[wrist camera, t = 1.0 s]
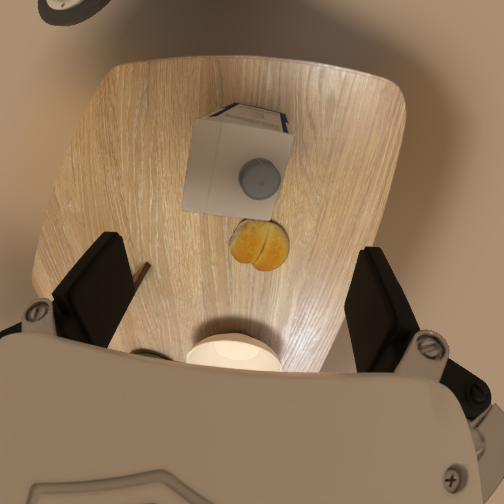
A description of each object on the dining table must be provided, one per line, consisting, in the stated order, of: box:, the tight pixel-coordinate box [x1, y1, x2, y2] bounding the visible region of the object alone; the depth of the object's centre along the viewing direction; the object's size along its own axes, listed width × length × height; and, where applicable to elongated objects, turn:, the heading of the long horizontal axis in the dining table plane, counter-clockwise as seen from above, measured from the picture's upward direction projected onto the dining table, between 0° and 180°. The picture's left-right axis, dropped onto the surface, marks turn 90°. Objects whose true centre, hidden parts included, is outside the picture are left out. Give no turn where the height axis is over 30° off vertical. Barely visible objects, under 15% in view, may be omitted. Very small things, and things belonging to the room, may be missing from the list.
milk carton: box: [181, 103, 295, 221], centre depth 27 cm, size 7×7×20 cm
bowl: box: [186, 333, 283, 372], centre depth 56 cm, size 20×20×7 cm
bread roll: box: [229, 219, 289, 271], centre depth 43 cm, size 8×9×4 cm
